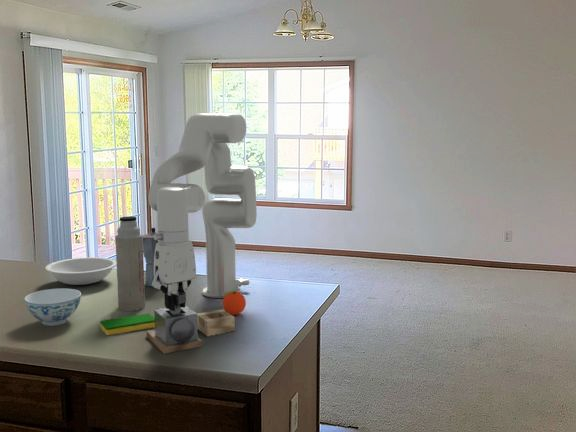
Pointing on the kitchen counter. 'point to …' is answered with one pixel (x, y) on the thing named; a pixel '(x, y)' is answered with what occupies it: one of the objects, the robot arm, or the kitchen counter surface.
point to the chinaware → (53, 305)
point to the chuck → (176, 326)
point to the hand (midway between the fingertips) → (175, 307)
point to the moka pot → (149, 255)
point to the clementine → (234, 302)
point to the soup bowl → (81, 270)
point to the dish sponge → (127, 324)
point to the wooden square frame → (215, 322)
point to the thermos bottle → (130, 265)
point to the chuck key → (178, 301)
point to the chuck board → (172, 347)
